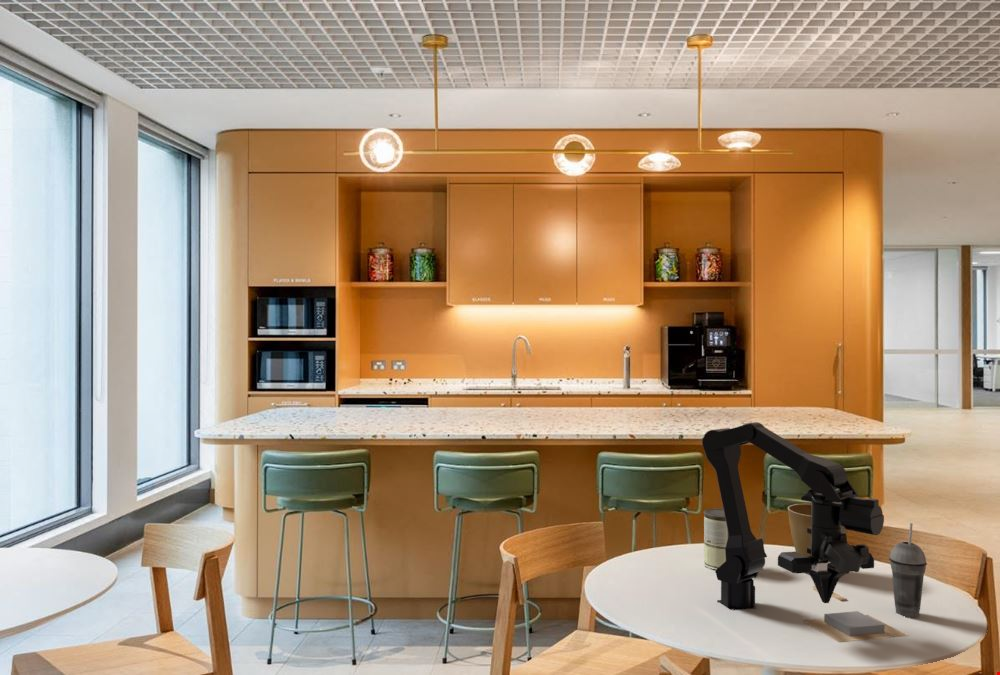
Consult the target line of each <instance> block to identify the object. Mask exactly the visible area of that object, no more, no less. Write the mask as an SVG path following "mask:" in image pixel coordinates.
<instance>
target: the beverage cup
mask: <svg viewBox="0 0 1000 675" xmlns="http://www.w3.org/2000/svg"><path fill="white" fill-rule="evenodd" d="M908 532H909V534H908V541H902V542H899V543H897V544H896V545H895V546H893V547H892V549H891V551H890V555H889V556H890V557H889V559H888V560H889V561H890V568H891V572H892V573H891V574H892V587H893V598H894V607H895V614H897V615H900V616H902V617H904V616H905V618H908V617H917V618H919V617H920V610H921V604H922V594H923V586H924V575H925V573H926V570H927V569H926V566H927V564H928V563H927V559H926V555H925V553H924V551H923V549H921V547H920V546H919V545H918V544H916V543H913V542H912V536H913V523H912V522H910V523H909V531H908ZM918 616H919V617H918Z"/></svg>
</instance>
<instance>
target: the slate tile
mask: <svg viewBox="0 0 1000 675" xmlns="http://www.w3.org/2000/svg"><path fill="white" fill-rule="evenodd" d="M866 615H867V614H864V613H863V612H861V611H859V610H856V611H845V612H844V611H843V612H829V613H824V614H823V619H824V622H826V623H827V624H829V625H831V626H833V627H834V628H836V629H838V630H840V631H842V632H843V633H845V634H847V635H849V636H857V635H868V634H879V633H884V628H885V625H884V624H882V623H880V622H878V621H876V620H874V619H872V618H870V617H868V616H866Z"/></svg>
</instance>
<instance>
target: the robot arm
mask: <svg viewBox="0 0 1000 675" xmlns="http://www.w3.org/2000/svg"><path fill="white" fill-rule="evenodd" d="M749 443H750V444H751V445H753V446H755V447H757V448H758V449H760V450H761V451H762V452H764V453H766V454H768V455H769V456H771V457H772V458H774V459H775V460H777V461H779V462H780V463H782V464H783V465H785V466H786V467H787V468H790V469H791V470H792V471H794V472H795V473H796V474H797V476H798V478H799V479H800V480H801V482H802V483H804V484H805V485H806V486H807V487H808V488H809V489H808V491H807V492H806V493H805V494H803V495H802V496H801V497H800V499H801V501H805V502H811V503H810V504H811V528H807V533H809V534H811V547H810V548H807V553H809V554H811V556H805V555H803V554H800V553H798V552H796V551H795V550H794V551H783V552H782V551H781V552H780V554H779V555H778V556H777V566H778V567H780V568H781V569H784V570H786V571H788V572H791V573H792V574H807V573H809V574H808V575H809V576H810V578H811V579H812V581H813V585H814V586H816V589H817V591H818V592H817V591H816V592H817V593H818V595H819V598H820V599H821V602H822V603H824V604H829V603H830V601H831V598H832V594H833V592H835V589H836V586H837V584H838V582H839V580H841V578H842V577H843V576H845V575H847V574H849V573H850V572H853V573H858V572H860V570H861V569H862V570H864V569H874V568H875V558H874V556H873V554H872V553H871V552H870V550H869V547H868V545H866V544H864V543H863V544H856V545H854V544H849V543H848V537H847V535H846V533H844V532H842V526H844V527H845V529H847V530H848V531H852V532H857V533H863V534H866V535H871V536H878V535H879V534H880V533H881V532H882V530H883V528H884V522H885V521H884V520H885V516H884V513H883V510H882V508H881V506H880V504H879V502H880V501H879V499H877V498H864V497H859V494H858V493H857V491H856V490H855V488H854V486H853V485H852V484H851V482H850V480H849V479H848V478H847V472H846V469H845V468H844V467H843V466H842V465H841V464H840V463H837V462H835V461H833V460H830V459H828V458H824V457H821V456H818V455H814V454H811V453H809V452H806V451H804V450H803V449H802V448H799V446H797V445H795V444H793V443H791V442H790V441H789V440H787V439H785V438H783V437H782V436H780V435H779V434H777V433H775V432H774V431H772V430H770V429H769V428H767V427H766V426H765V425H763V424H762V423H761V422H758V421H757V422H755V421H754V422H747V423H744V424H743V425H739V426H736V427H732V428H729V427H728V428H716V429H710V430H708V431H706V432H705V434H704V435H703V437H702V439H701V444H702V448H703V451H704V454H705V457H706V459H707V461H708V462H709V464H711V466H712V468H713V469H714V471H715V474H716V479H717V484H718V488H719V490H718V491H719V494H720V499H721V504H722V508H723V509H724V514H725V519H726V524H727V529H728V539H727V543H726V548H725V555H726V562H724V563H723V564H722V565H721V566H720V567H719V568H717V569H716V570H714V571H715V575H716V578H717V580H718V581H719V582H720V599H718V600H717V601H716V603H719V604H721V605H722V606H724V607H725V608H727V609H728V610H730V611H740V610H752V609H758V607H757V606H756V586H755V582H754V579H755V578H757V577H758V575H759V572H760V571H761V570H762V569H763V568H764V566H765V564H766V558H767V557H768V555H767V553H766V551H765V547H764V544H765V543H764V540H763V538H758V539H757V538H756V536H755V535H754V534H753V532H752V530H751V529H752V528H751V526H750V522H749V521H750V520H749V516H748V510H747V505H746V502H745V501H746V500H745V496H744V491H743V487H742V486H743V485H742V481H741V478H740V476H741V475H740V473H739V463H740V459H741V456H742V455H741V454H742V451H741V450H742V448H741V446H744V445H748V444H749ZM837 491H838V492H837ZM818 560H821V561H818Z"/></svg>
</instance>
